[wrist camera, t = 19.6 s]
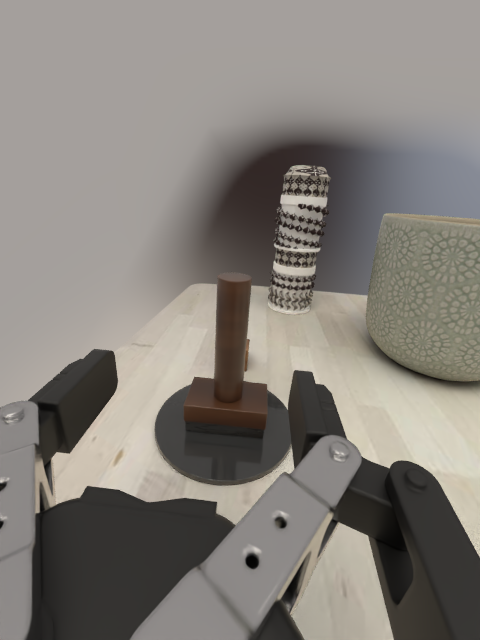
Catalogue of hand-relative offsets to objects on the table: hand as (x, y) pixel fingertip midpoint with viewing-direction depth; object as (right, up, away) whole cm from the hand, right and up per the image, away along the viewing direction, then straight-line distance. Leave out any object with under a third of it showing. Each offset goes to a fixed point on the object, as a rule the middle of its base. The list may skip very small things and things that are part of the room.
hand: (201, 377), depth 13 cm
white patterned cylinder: (+12, +5, +45) cm, 47 cm away
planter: (+29, -3, +29) cm, 41 cm away
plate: (0, -7, +15) cm, 17 cm away
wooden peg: (0, -7, +15) cm, 16 cm away
